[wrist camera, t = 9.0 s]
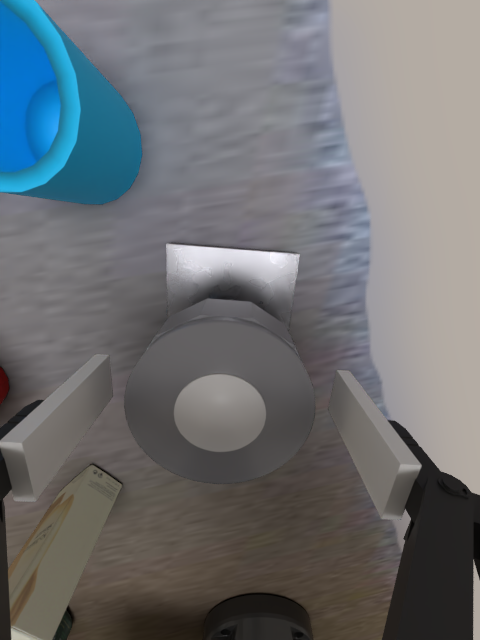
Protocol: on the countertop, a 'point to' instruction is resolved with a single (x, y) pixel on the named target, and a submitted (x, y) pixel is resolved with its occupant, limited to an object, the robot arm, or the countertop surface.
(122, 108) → the mug
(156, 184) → the countertop surface
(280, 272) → the gray flat-based fixture
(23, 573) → the skincare box
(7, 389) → the plastic cup
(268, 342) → the cap
